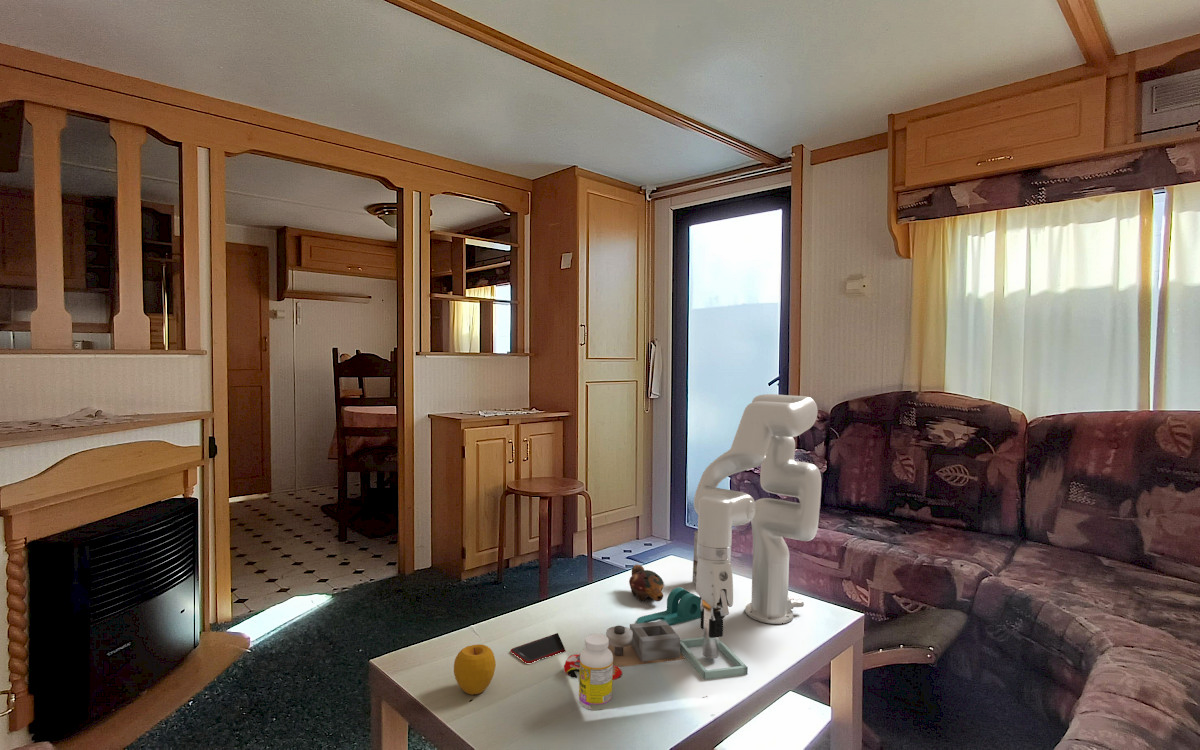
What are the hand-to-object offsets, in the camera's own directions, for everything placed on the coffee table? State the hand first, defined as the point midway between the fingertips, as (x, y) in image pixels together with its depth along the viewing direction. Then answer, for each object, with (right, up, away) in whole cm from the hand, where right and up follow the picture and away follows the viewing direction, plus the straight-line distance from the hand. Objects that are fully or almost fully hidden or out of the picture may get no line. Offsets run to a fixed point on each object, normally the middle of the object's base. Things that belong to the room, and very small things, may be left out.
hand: (711, 631), depth 135 cm
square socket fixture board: (-16, -7, +3) cm, 17 cm away
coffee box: (+9, -7, +50) cm, 52 cm away
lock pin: (0, -5, 0) cm, 5 cm away
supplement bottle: (-26, -8, -15) cm, 31 cm away
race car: (-27, -8, -5) cm, 28 cm away
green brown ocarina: (-12, -7, +39) cm, 41 cm away
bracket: (-8, -8, +21) cm, 24 cm away
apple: (-51, -7, -12) cm, 53 cm away
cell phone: (-38, -7, +6) cm, 39 cm away
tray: (0, -8, 0) cm, 8 cm away
